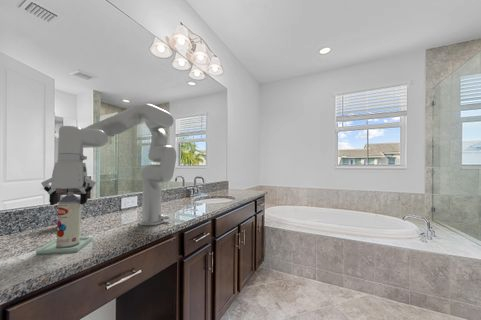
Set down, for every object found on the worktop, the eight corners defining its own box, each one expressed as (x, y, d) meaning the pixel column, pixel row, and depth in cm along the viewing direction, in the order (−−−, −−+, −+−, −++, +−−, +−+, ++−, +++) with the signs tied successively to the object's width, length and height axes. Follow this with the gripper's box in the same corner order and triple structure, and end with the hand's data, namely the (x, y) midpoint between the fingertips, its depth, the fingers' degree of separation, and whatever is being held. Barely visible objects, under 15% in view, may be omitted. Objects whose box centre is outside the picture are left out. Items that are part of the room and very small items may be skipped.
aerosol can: (51, 246, 77) (54, 192, 78) (72, 240, 84) (74, 190, 84) (63, 249, 75) (65, 193, 75) (83, 243, 81) (85, 191, 82)
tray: (92, 240, 86) (92, 236, 86) (77, 252, 74) (77, 247, 74) (57, 242, 83) (57, 238, 83) (35, 255, 71) (36, 250, 72)
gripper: (100, 159, 86) (98, 201, 85) (49, 158, 81) (47, 203, 81) (92, 159, 78) (90, 205, 78) (36, 157, 74) (34, 206, 74)
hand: (68, 204), depth 79 cm, fingers open, 9 cm apart
